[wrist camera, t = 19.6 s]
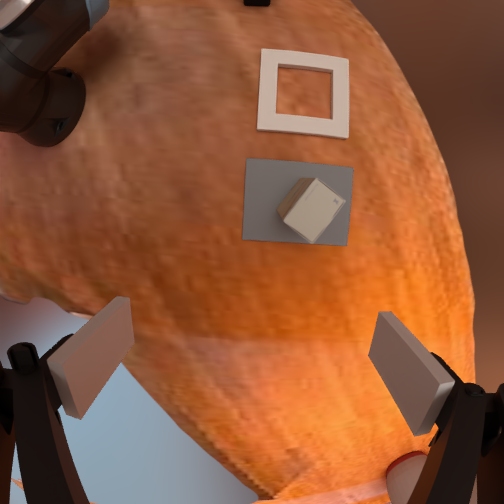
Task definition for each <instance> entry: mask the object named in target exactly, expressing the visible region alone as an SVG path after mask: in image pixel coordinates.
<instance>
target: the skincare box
mask: <svg viewBox="0 0 504 504" xmlns="http://www.w3.org/2000/svg"><path fill="white" fill-rule="evenodd" d="M345 202H346V201H345V200H344V199H343V198H342V197H341V196H340V195H338V194H337V193H336V192H335V191H334V190H333V189H331V188H330V187H329V186H328V185H326V184H325V183H324V182H322V181H321V180H320V179H318V178H300V179H299V180H298V182H297V183H296V184H295V185H294V186H293V188H292V189H291V190H290V191H289V193H288V194H287V195H286V197H285V198H284V199H283V201H282V202H281V203H280V205H279V206H278V207H277V209H276V210H277V212H278V213H279V215H280V217H281V218H282V220H283V222H285V223H286V224H287V225H288V226H290V227H291V228H292V229H293V230H294V231H296V232H297V233H298V234H299V235H301V236H302V237H303V238H304V239H306V240H307V241H308V242H310V243H311V244H313V243H314V242H315V241H316V240H317V239H318V237H319V236H320V235H321V234H322V233H323V231H324V230H325V229H326V228H327V226H328V225H329V224H330V222H331V221H332V220H333V218H334V217H335V216H336V214H337V213H338V212H339V210H340V209H341V208H342V206H343V205H344V203H345Z"/></svg>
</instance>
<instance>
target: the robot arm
mask: <svg viewBox="0 0 504 504" xmlns="http://www.w3.org/2000/svg"><path fill="white" fill-rule="evenodd" d="M108 9H109V0H0V132H10V133H17V134H18V135H19V136H21V137H22V138H24V139H25V140H26V141H28V142H29V143H31V144H33V145H35V146H42V147H49V146H53V145H56V144H58V143H59V142H61V141H62V140H63V139H65V138H66V137H67V136H68V135H69V134H70V132H71V131H72V130H73V129H74V127H75V126H76V124H77V122H78V120H79V118H80V116H81V113H82V111H83V107H84V103H85V85H84V82H83V80H82V78H81V76H80V75H79V74H78V73H76V72H74V71H72V70H70V69H68V68H65V67H53V66H54V65H55V64H56V63H57V62H58V61H59V60H60V58H61V57H62V56H63V55H64V54H65V53H66V52H67V51H68V50H69V49H70V48H71V47H72V46H73V45H74V44H75V43H76V42H77V41H78V40H79V39H80V38H81V37H82V36H83V35H84V34H85V33H86V32H87V31H90V30H91V29H92V27H93V26H94V25H95V24H96V23H97V22H98V21H99V20H100V19H101V18H102V17H103V16H104V15H105V14H106V13H107V11H108ZM134 343H135V342H134V334H133V326H132V317H131V307H130V298H128V297H120V296H117V297H116V298H114V299H113V300H112V301H111V302H110V303H109V304H107V305H106V306H105V307H104V308H103V309H102V310H101V311H99V312H98V313H97V314H96V315H95V316H94V317H93V318H91V319H90V320H89V321H88V322H87V323H86V324H85V325H84V326H83V327H82V328H81V329H79V330H78V331H77V332H76V333H75V334H69V335H67V336H65V337H63V338H62V339H61V340H60V341H58V342H57V344H55V345H54V346H53V347H52V349H49V350H48V351H47V352H46V353H45V354H44V355H43V356H42V357H41V358H40V359H39V357H38V354H37V350H36V347H35V345H33V344H32V343H28V342H23V343H17V344H15V345H13V346H11V347H10V348H9V349H8V351H7V355H8V358H9V361H10V364H11V367H12V369H6V368H3V366H2V364H1V361H0V504H9V500H10V483H11V472H12V464H13V456H14V449H15V443H16V446H17V454H18V460H19V467H20V472H21V478H22V483H23V488H24V492H25V497H26V501H27V504H90V503H89V501H88V499H87V496H86V494H85V491H84V489H83V486H82V484H81V481H80V479H79V476H78V473H77V471H76V468H75V465H74V462H73V459H72V456H71V453H70V450H69V447H68V443H67V440H66V436H65V433H64V429H63V425H62V421H61V417H60V414H59V412H58V409H59V407H60V406H61V405H62V406H63V408H64V410H65V413H66V415H69V416H72V417H74V418H78V419H80V420H81V419H82V418H83V416H84V415H85V413H86V412H87V410H88V409H89V407H90V406H91V404H92V403H93V401H94V400H95V398H96V397H97V395H98V394H99V393H100V391H101V390H102V388H103V387H104V385H105V384H106V382H107V381H108V380H109V378H110V376H111V375H112V374H113V372H114V371H115V370H116V368H117V367H118V365H119V364H120V363H121V361H122V360H123V358H124V357H125V356H126V354H127V353H128V351H129V350H130V349H131V347H132V346H133V344H134ZM368 356H369V358H370V359H371V361H372V363H373V364H374V366H375V368H376V369H377V371H378V373H379V375H380V376H381V378H382V380H383V381H384V383H385V385H386V387H387V388H388V390H389V392H390V394H391V395H392V397H393V399H394V401H395V402H396V404H397V406H398V408H399V409H400V411H401V413H402V415H403V417H404V418H405V420H406V422H407V424H408V426H409V427H410V429H411V431H412V433H413V435H414V437H415V436H419V435H423V434H427V433H429V432H430V431H431V429H432V427H433V425H434V423H436V425H437V426H438V428H439V429H438V430H437V432H436V434H435V436H434V437H433V439H432V441H431V442H430V444H429V447H431V448H430V451H429V454H428V456H427V459H426V461H425V464H424V466H423V469H422V471H421V474H420V476H419V478H418V481H417V483H416V485H415V487H414V490H413V492H412V494H411V496H410V498H409V500H408V502H407V504H469V502H470V498H471V494H472V491H473V486H474V482H475V478H476V474H477V504H504V383H503V384H501V385H500V386H499V388H498V390H497V392H496V393H485V391H484V389H483V388H482V387H480V386H479V385H476V384H474V383H464V382H463V381H462V380H461V379H460V378H459V377H458V376H457V375H456V373H455V372H454V371H453V370H452V369H450V367H449V366H448V365H447V364H446V363H445V361H444V360H443V359H442V358H441V357H439V356H438V355H436V354H434V353H433V352H429V351H428V350H427V349H426V348H425V347H424V346H423V345H422V343H421V342H420V341H419V340H418V339H417V338H416V337H415V336H414V335H413V334H412V333H411V332H410V331H409V330H408V329H407V327H406V326H405V325H404V324H403V323H402V322H401V321H400V320H399V319H398V318H397V317H396V316H395V315H394V314H393V313H392V312H391V311H390V312H379V313H378V318H377V322H376V327H375V331H374V335H373V339H372V343H371V347H370V351H369V355H368ZM500 432H501V433H500Z"/></svg>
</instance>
